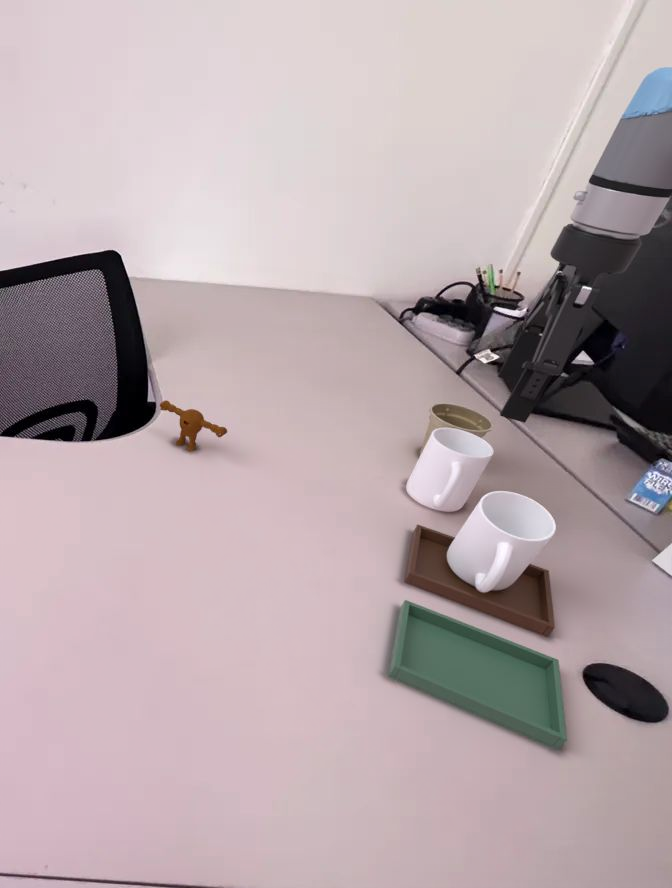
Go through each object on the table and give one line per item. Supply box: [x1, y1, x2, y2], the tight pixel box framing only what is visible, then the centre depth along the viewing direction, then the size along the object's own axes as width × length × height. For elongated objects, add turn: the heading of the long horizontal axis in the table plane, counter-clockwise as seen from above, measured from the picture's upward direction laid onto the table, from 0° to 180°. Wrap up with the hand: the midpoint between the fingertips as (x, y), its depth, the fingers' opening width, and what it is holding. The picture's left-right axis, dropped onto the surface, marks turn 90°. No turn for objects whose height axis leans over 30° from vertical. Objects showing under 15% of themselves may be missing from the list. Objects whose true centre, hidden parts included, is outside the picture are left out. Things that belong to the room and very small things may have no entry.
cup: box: [405, 428, 495, 513], centre depth 100 cm, size 8×12×10 cm
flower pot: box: [419, 402, 495, 457], centre depth 112 cm, size 9×9×9 cm
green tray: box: [387, 599, 568, 751], centre depth 75 cm, size 16×12×2 cm
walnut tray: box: [403, 524, 556, 638], centre depth 88 cm, size 16×12×2 cm
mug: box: [447, 490, 557, 593], centre depth 84 cm, size 12×8×10 cm
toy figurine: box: [159, 400, 228, 452], centre depth 108 cm, size 12×4×7 cm, turn 47°
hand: (510, 397), depth 88 cm, fingers open, 13 cm apart
